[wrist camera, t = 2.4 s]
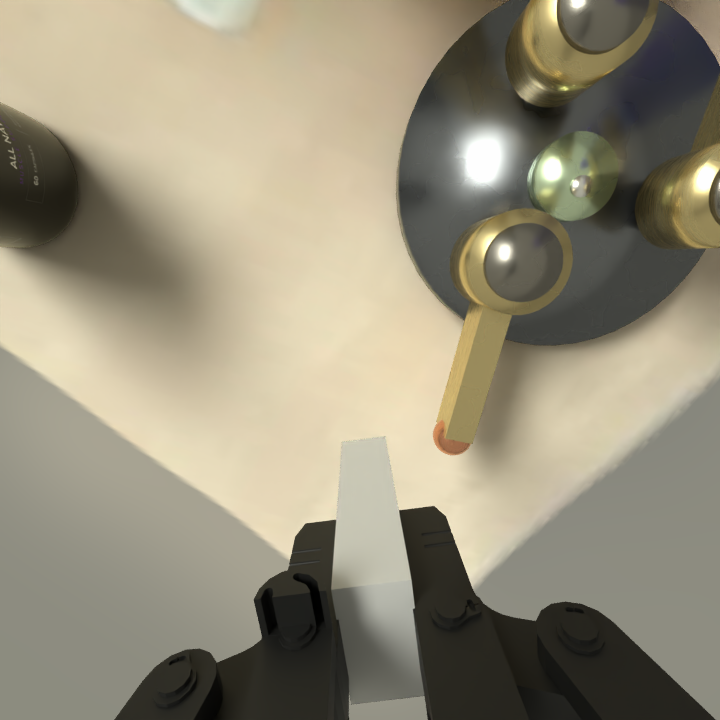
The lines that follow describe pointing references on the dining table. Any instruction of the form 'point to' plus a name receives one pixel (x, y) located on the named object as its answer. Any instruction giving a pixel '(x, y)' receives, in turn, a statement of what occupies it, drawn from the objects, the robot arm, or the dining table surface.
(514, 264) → the knob
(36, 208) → the supplement bottle
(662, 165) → the knob
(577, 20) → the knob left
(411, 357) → the dining table surface
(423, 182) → the tribrach plate
